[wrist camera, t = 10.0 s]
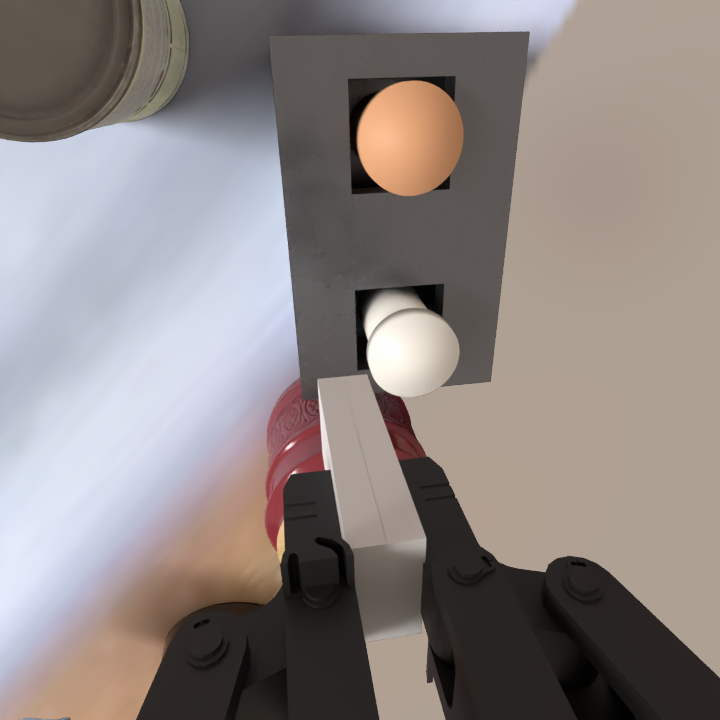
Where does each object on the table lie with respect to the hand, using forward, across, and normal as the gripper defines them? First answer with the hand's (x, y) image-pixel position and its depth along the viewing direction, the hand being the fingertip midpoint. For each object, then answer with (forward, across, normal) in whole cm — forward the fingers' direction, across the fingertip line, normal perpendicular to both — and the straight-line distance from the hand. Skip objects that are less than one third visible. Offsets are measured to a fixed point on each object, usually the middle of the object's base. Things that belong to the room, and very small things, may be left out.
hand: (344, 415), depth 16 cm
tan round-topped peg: (+24, -6, -7) cm, 26 cm away
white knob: (+23, -6, +5) cm, 24 cm away
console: (+26, -6, -1) cm, 27 cm away
